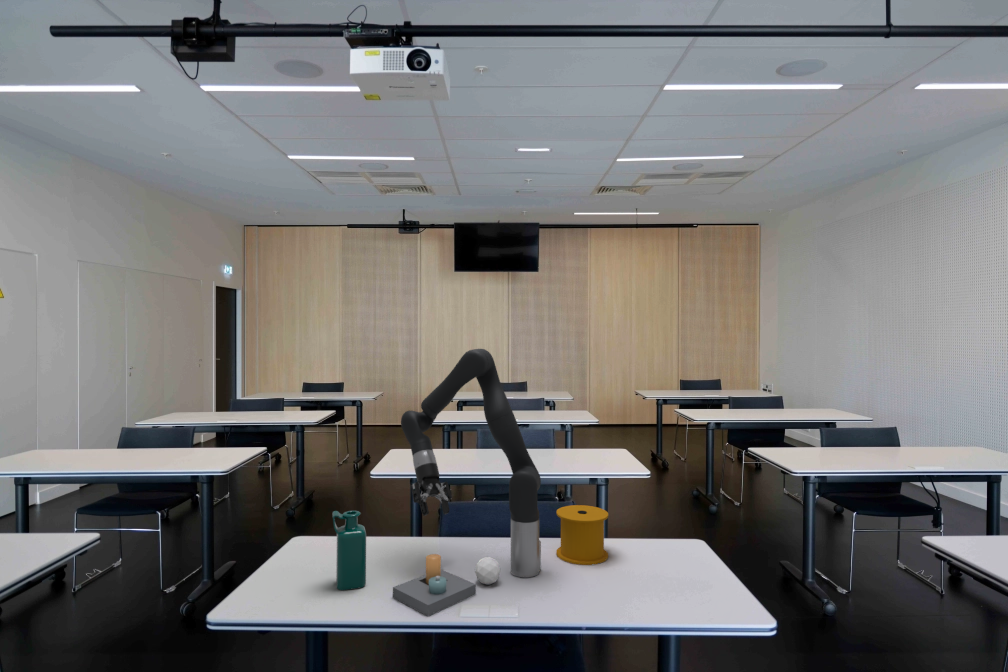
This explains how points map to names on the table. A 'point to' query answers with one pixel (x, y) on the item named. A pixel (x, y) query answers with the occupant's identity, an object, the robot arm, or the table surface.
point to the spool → (582, 534)
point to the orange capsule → (433, 566)
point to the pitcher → (350, 552)
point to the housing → (434, 592)
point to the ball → (487, 570)
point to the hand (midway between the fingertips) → (436, 514)
